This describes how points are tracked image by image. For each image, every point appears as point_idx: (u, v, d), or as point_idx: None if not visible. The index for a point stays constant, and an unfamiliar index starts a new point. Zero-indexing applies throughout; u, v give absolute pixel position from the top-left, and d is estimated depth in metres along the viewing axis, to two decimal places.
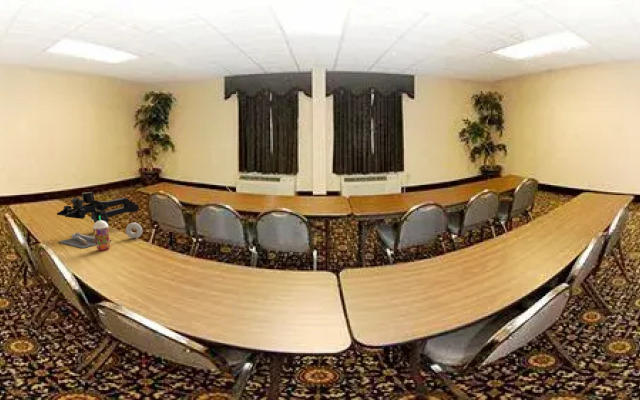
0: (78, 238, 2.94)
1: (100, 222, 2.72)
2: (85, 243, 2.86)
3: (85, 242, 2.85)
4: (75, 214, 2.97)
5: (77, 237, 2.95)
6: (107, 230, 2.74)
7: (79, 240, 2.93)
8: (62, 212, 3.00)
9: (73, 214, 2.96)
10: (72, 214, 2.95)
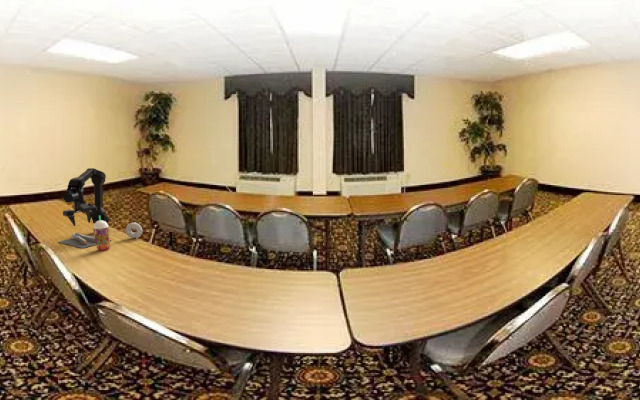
0: (78, 238, 2.94)
1: (100, 222, 2.72)
2: (85, 243, 2.86)
3: (85, 242, 2.85)
4: None
5: (77, 237, 2.95)
6: (107, 230, 2.74)
7: (79, 240, 2.93)
8: None
9: None
10: None
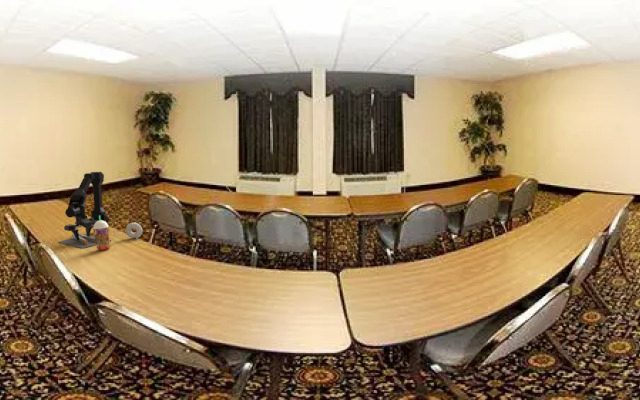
0: None
1: (100, 222, 2.72)
2: (86, 243, 2.86)
3: (86, 242, 2.86)
4: None
5: None
6: (107, 230, 2.74)
7: (79, 240, 2.93)
8: None
9: None
10: None
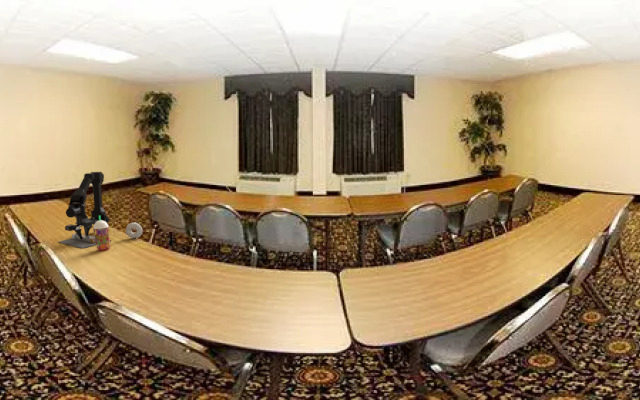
0: (82, 237, 2.95)
1: (100, 222, 2.72)
2: (94, 241, 2.89)
3: (93, 240, 2.89)
4: None
5: None
6: (107, 230, 2.74)
7: (83, 239, 2.94)
8: None
9: None
10: None
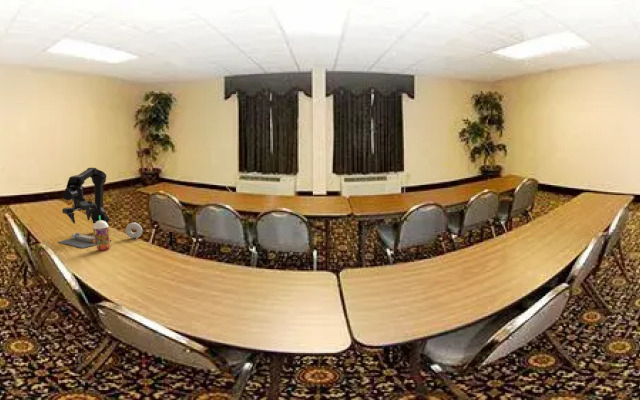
0: (82, 237, 2.95)
1: (100, 222, 2.72)
2: (94, 241, 2.89)
3: (93, 240, 2.89)
4: None
5: (80, 237, 2.96)
6: (107, 230, 2.74)
7: (83, 239, 2.94)
8: None
9: None
10: None
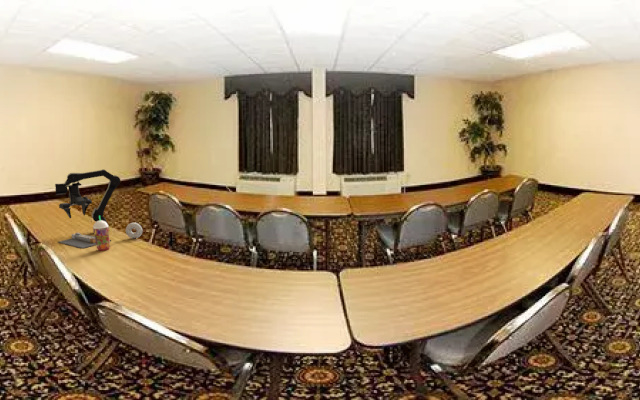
0: (82, 237, 2.95)
1: (100, 222, 2.72)
2: (94, 241, 2.89)
3: (93, 240, 2.89)
4: None
5: (80, 237, 2.96)
6: (107, 230, 2.74)
7: (83, 239, 2.94)
8: None
9: None
10: None
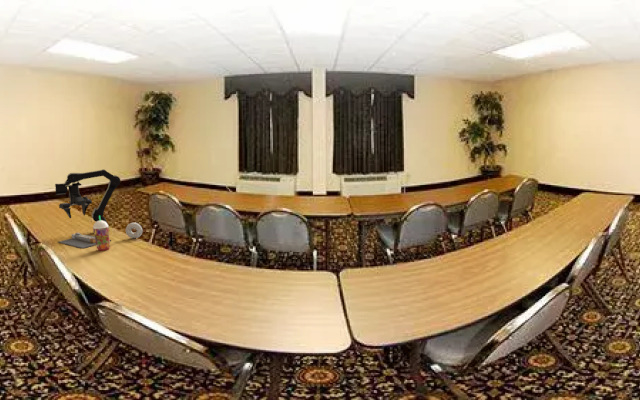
0: (82, 237, 2.95)
1: (100, 222, 2.72)
2: (94, 241, 2.89)
3: (93, 240, 2.89)
4: None
5: (80, 237, 2.96)
6: (107, 230, 2.74)
7: (83, 239, 2.94)
8: None
9: None
10: None
